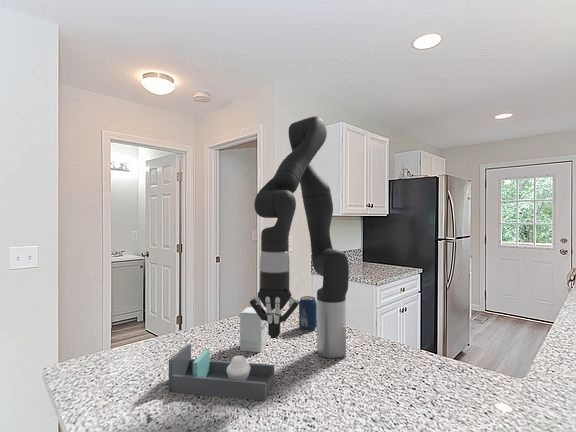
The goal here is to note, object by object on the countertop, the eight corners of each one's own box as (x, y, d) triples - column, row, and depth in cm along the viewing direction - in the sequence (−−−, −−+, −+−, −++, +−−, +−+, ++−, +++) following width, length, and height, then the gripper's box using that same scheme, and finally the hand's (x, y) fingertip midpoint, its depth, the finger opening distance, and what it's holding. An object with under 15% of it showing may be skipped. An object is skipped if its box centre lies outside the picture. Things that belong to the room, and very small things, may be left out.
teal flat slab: (209, 372, 88) (209, 350, 88) (197, 386, 81) (197, 362, 81) (205, 371, 88) (205, 350, 88) (192, 386, 81) (192, 362, 81)
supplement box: (261, 352, 104) (260, 313, 104) (239, 351, 105) (239, 312, 105) (267, 344, 111) (267, 307, 111) (246, 342, 112) (246, 306, 112)
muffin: (229, 391, 79) (229, 362, 79) (224, 379, 85) (224, 353, 85) (253, 386, 81) (253, 358, 81) (247, 375, 87) (247, 349, 87)
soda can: (315, 325, 129) (315, 295, 130) (317, 331, 123) (317, 300, 123) (298, 325, 129) (298, 296, 129) (299, 331, 122) (299, 300, 122)
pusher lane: (274, 379, 86) (274, 350, 86) (265, 400, 76) (265, 367, 76) (187, 372, 91) (187, 344, 91) (168, 391, 81) (168, 359, 81)
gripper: (302, 267, 84) (302, 333, 84) (253, 265, 86) (253, 330, 86) (298, 272, 76) (297, 345, 76) (245, 270, 79) (244, 340, 79)
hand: (274, 337), depth 81 cm, fingers closed
